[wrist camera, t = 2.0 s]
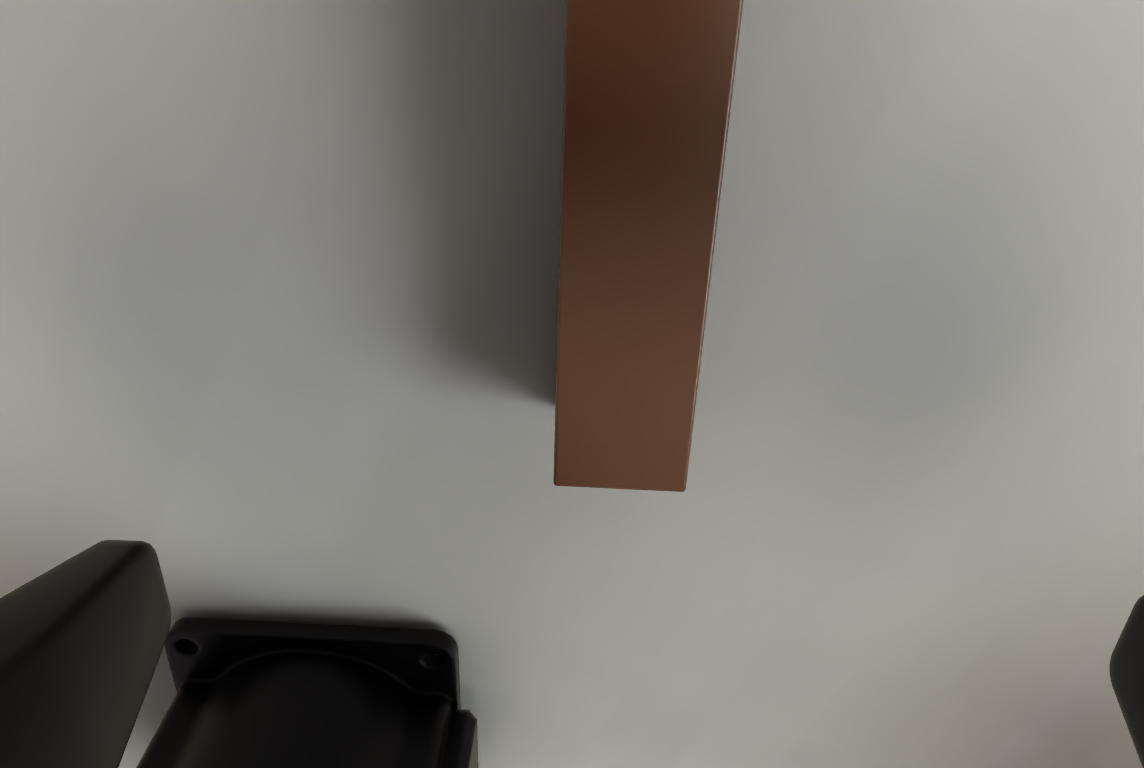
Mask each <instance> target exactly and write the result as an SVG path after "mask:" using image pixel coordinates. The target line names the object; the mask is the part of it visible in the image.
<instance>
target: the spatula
mask: <svg viewBox="0 0 1144 768" xmlns="http://www.w3.org/2000/svg"><path fill="white" fill-rule="evenodd" d="M742 7H743V0H566V26H565V64H564V102H563V140H562V178H561V216H560V254H559V292H558V330H557V368H556V406H555V444H554V485H556V486H574V487H594V488H615V489H635V490H656V491H676V492H684V491H685V489H686V481H687V472H688V464H689V455H690V447H691V439H692V430H693V422H694V413H695V405H696V396H697V388H698V379H699V371H700V362H701V354H702V345H703V337H704V328H705V320H706V311H707V303H708V295H709V286H710V278H711V269H712V261H713V252H714V244H715V235H716V227H717V218H718V210H719V201H720V193H721V184H722V176H723V167H724V159H725V151H726V142H727V134H728V125H729V117H730V108H731V100H732V91H733V83H734V74H735V66H736V57H737V49H738V40H739V32H740V24H741V15H742Z"/></svg>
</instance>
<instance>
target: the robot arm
mask: <svg viewBox="0 0 1144 768" xmlns="http://www.w3.org/2000/svg"><path fill="white" fill-rule="evenodd" d="M170 622H171V609H170V604H169V600H168V596H167V592H166V588H165V584H164V580H163V576H162V572H161V568H160V564H159V561H158V557H157V554H156V551H155V549H154V548H153V547H152V546H151V545H150V544H148V543H146V542H143V541H126V540H105V541H101V542H99V543H97V544H95V545H93V546H92V547H90V548H88V549H86V550H85V551H83V552H81V553H79V554H77V555H76V556H74V557H72V558H70V559H69V560H67V561H65V562H63V563H62V564H60V565H58V566H56V567H55V568H53V569H51V570H49V571H48V572H46V573H44V574H42V575H40V576H39V577H37V578H35V579H33V580H32V581H30V582H28V583H26V584H25V585H23V586H21V587H19V588H18V589H16V590H14V591H12V592H11V593H9V594H7V595H5V596H4V597H2V598H0V768H118V767H119V764H120V762H121V759H122V756H123V754H124V751H125V748H126V746H127V743H128V740H129V738H130V735H131V732H132V730H133V727H134V724H135V722H136V719H137V716H138V714H139V711H140V708H141V705H142V703H143V700H144V697H145V695H146V692H147V689H148V687H149V684H150V681H151V679H152V676H153V673H154V671H155V668H156V665H157V663H158V660H159V657H160V655H161V652H162V649H163V647H164V644H165V649H166V653H167V657H168V660H169V664H170V668H171V671H172V675H173V679H174V682H175V686H176V690H177V694H176V696H175V698H174V700H173V702H172V704H171V705H170V707H169V709H168V711H167V713H166V715H165V716H164V718H163V720H162V722H161V724H160V726H159V727H158V729H157V731H156V733H155V735H154V737H153V738H152V740H151V742H150V744H149V746H148V748H147V749H146V751H145V753H144V755H143V757H142V759H141V760H140V762H139V764H138V766H137V768H478V740H477V719H476V718H475V717H474V716H473V714H472V713H471V712H470V711H469V710H461V704H460V681H459V659H458V646H457V643H456V641H455V640H454V639H453V638H452V636H450V635H448V634H447V633H445V632H442V631H436V630H422V629H402V628H383V627H364V626H345V625H325V624H306V623H287V622H268V621H248V620H229V619H210V618H191V617H190V618H182V619H180V620H178V621H176V622H175V624H174V625H173V627H172V628H171V630H170V631H169V628H170ZM190 640H191V641H190ZM430 652H436V653H439V654H438V655H435V654H431V653H430ZM1110 677H1111V682H1112V686H1113V689H1114V691H1115V694H1116V697H1117V700H1118V702H1119V705H1120V708H1121V710H1122V713H1123V716H1124V718H1125V721H1126V724H1127V726H1128V729H1129V732H1130V734H1131V737H1132V740H1133V743H1134V745H1135V748H1136V751H1137V753H1138V756H1139V759H1140V761H1141V764H1142V767H1143V768H1144V595H1143V596H1142V597H1141V598H1139V599H1138V600H1137V602H1136V603H1135V605H1134V607H1133V610H1132V612H1131V614H1130V616H1129V618H1128V620H1127V622H1126V625H1125V627H1124V629H1123V631H1122V633H1121V635H1120V638H1119V640H1118V642H1117V644H1116V646H1115V648H1114V650H1113V653H1112V656H1111V660H1110Z"/></svg>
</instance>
